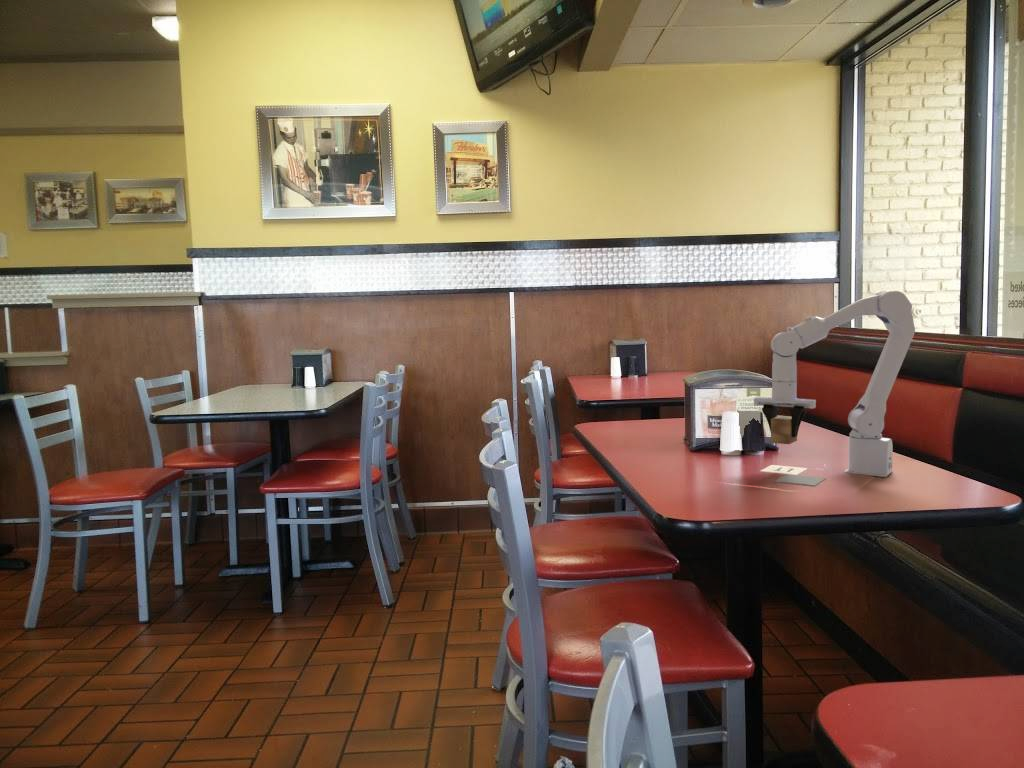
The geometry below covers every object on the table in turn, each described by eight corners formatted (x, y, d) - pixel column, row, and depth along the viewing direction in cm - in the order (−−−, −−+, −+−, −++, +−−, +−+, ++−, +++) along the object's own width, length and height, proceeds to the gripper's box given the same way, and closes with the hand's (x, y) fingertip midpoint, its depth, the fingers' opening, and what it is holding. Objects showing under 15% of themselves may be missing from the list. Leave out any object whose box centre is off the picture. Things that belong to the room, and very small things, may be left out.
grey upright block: (757, 449, 221) (757, 408, 219) (760, 452, 216) (761, 410, 215) (736, 450, 221) (735, 408, 220) (738, 452, 217) (738, 410, 216)
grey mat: (825, 480, 180) (825, 477, 180) (814, 488, 173) (814, 485, 173) (786, 476, 185) (786, 473, 185) (774, 483, 178) (774, 480, 178)
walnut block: (797, 440, 191) (797, 416, 191) (789, 444, 187) (789, 419, 186) (778, 439, 194) (778, 415, 193) (770, 442, 189) (770, 418, 189)
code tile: (807, 469, 192) (807, 468, 192) (796, 476, 185) (796, 474, 185) (771, 466, 197) (771, 464, 197) (759, 472, 190) (759, 471, 190)
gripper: (749, 381, 190) (749, 435, 191) (809, 383, 181) (809, 440, 183) (759, 379, 196) (759, 432, 197) (818, 381, 187) (817, 436, 188)
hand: (784, 435), depth 190 cm, fingers closed on walnut block, 4 cm apart
